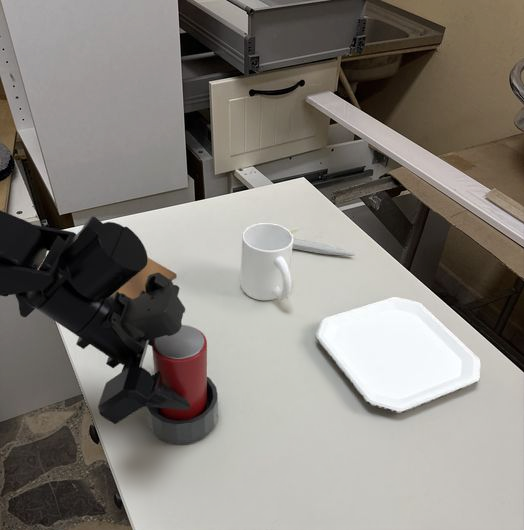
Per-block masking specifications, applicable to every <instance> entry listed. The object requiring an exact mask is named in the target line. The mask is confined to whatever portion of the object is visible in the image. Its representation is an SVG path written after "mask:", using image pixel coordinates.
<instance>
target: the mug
mask: <svg viewBox="0 0 524 530" xmlns="http://www.w3.org/2000/svg"><path fill="white" fill-rule="evenodd" d="M293 239H294V235H293V233H292V232H291V231H290V230H289V229H288V228H286V227H284V226H282V225H280V224H277V223H271V222H260V223H254V224H251V225H249V226H248V227H246V228H245V229H244V230H243V232H242V234H241V255H240V256H241V257H240V259H241V260H240V287H241V289H242V291H243V292H244V293H245V295H246V296H248V297H250V298H251V299H254V300H258V301H273V300H276V299H280V300H285V299H287V298H288V297H289V296H290V294H291V291H292V282H293V281H292V274H291V263H292V255H293V248H292V247H293Z"/></svg>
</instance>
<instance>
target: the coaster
mask: <svg viewBox="0 0 524 530" xmlns="http://www.w3.org/2000/svg"><path fill="white" fill-rule="evenodd" d="M157 272H159V273H160V274H162V275H163V276H165V277H166V278H168V279H170V280H171V281H173V280H175V279H176V278H177V273H176V272H174V271H172V270H170V269H169V268H167V267H166V266H163V265H162V264H160V263H159V262H157V261H155V260H154V259H151V258H149V257H148V261H147V265H146V266H145V268H144V269H143V270H141V271H140V272H139V273H138V274H137V275H135V276H134V277H133V278H132V279H131V280H129V281H128V282H127V283H126V284H125V285H123V286H122V287H121V288H120V289H119V290H117V291H116V292H119V293H120V294H121V293H123V294H125V295H126V296H127V297H129V298H131V299H134V298H136V297H138V296H139V295H140V292H141V291H143V290H144V292H146V289H145V284H146V281H147V278H148V276H149V275H151V274H154V273H157ZM116 292H115V293H116ZM115 293H114V294H115ZM114 294H113V295H114ZM111 296H112V295H111Z"/></svg>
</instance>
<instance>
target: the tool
mask: <svg viewBox="0 0 524 530" xmlns="http://www.w3.org/2000/svg"><path fill="white" fill-rule="evenodd" d="M292 250H299V251H305V252H309V253H310V252H311V253H315V254H322V255H330V256H331V255H333V256H346V257H353V256H356V254H355V253H354V252H353V251H349V250H347V249H346V250H345V249H342V248H339V247H335V246H332V245H329V244H324V243H319V242H313V241H308V240H304V239H303V240H302V239H296V238H293V247H292Z"/></svg>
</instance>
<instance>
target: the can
mask: <svg viewBox="0 0 524 530" xmlns="http://www.w3.org/2000/svg"><path fill="white" fill-rule="evenodd" d="M151 349H152V350H151V351H152V361H153V370H154V371H153V373H154V374H155V373H156V372H158V371H160V372H161V378H162V382H163V383H164V384H165V385H167V386H168V387H169V388H171V389H172V390H174V391H175V392H176V393H178V394H179V395H180V396H182V397H183V398H184V399H185V400H186V401H188V402H189V403H190V404H191V406H190V408H189V409H187V410H176V409H167V408H158V413H159V415H161V416H162V417H164V418H166V419H170V420H175V421H182V420H190V419H193V418H195V417H197V416H200V415H202V414H203V413H204V412H205V411H206V410H207V377H208V341H207V337H206V336H205V334H204V333H203V332H202V331H201V330H199V329H198V328H196V327H193V326H190V325H186V324H182V326H181V329H180V330H179V331H178V332H177V333H176V334H174V335H171V336H167V335H166V336H162V337H158V338H155V339H153V341H152V346H151Z"/></svg>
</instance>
